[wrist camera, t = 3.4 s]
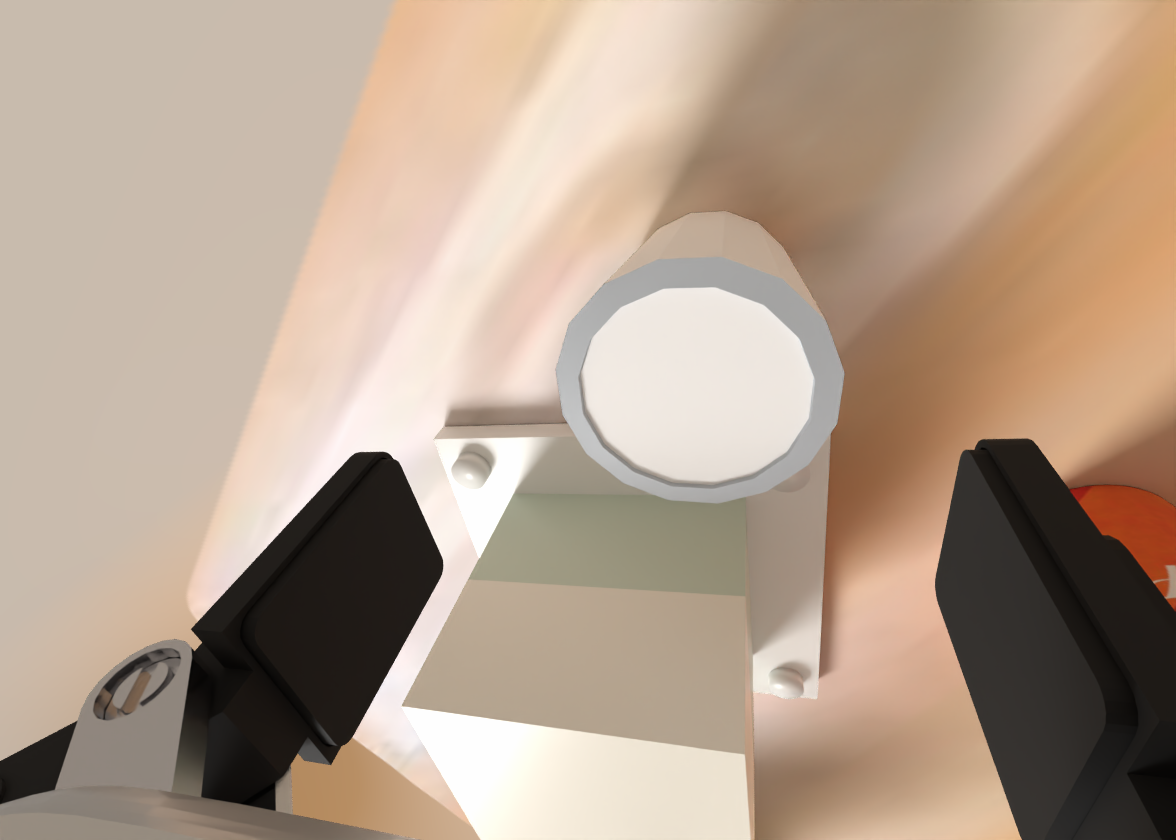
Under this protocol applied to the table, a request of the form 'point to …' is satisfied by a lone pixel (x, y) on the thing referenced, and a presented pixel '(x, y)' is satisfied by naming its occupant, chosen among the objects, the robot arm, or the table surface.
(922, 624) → the table surface
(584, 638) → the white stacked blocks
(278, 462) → the table surface
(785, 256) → the white cylinder
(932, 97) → the table surface
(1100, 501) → the paper cup
